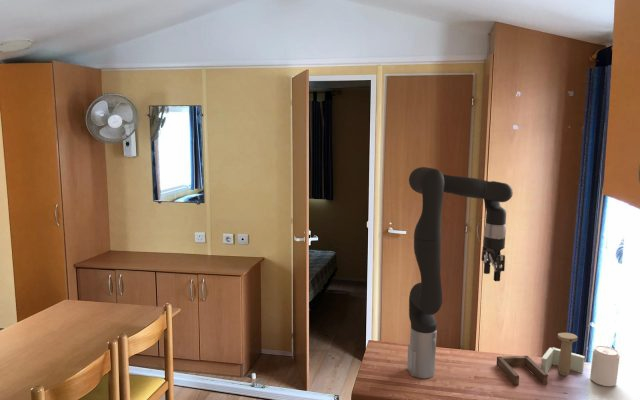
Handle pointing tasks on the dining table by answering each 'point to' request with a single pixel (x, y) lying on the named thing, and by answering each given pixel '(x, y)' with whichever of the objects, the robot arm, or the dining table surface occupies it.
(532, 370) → the u-shaped bracket
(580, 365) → the cream l-shaped bracket
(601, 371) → the beverage can
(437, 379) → the dining table surface
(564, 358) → the handle
